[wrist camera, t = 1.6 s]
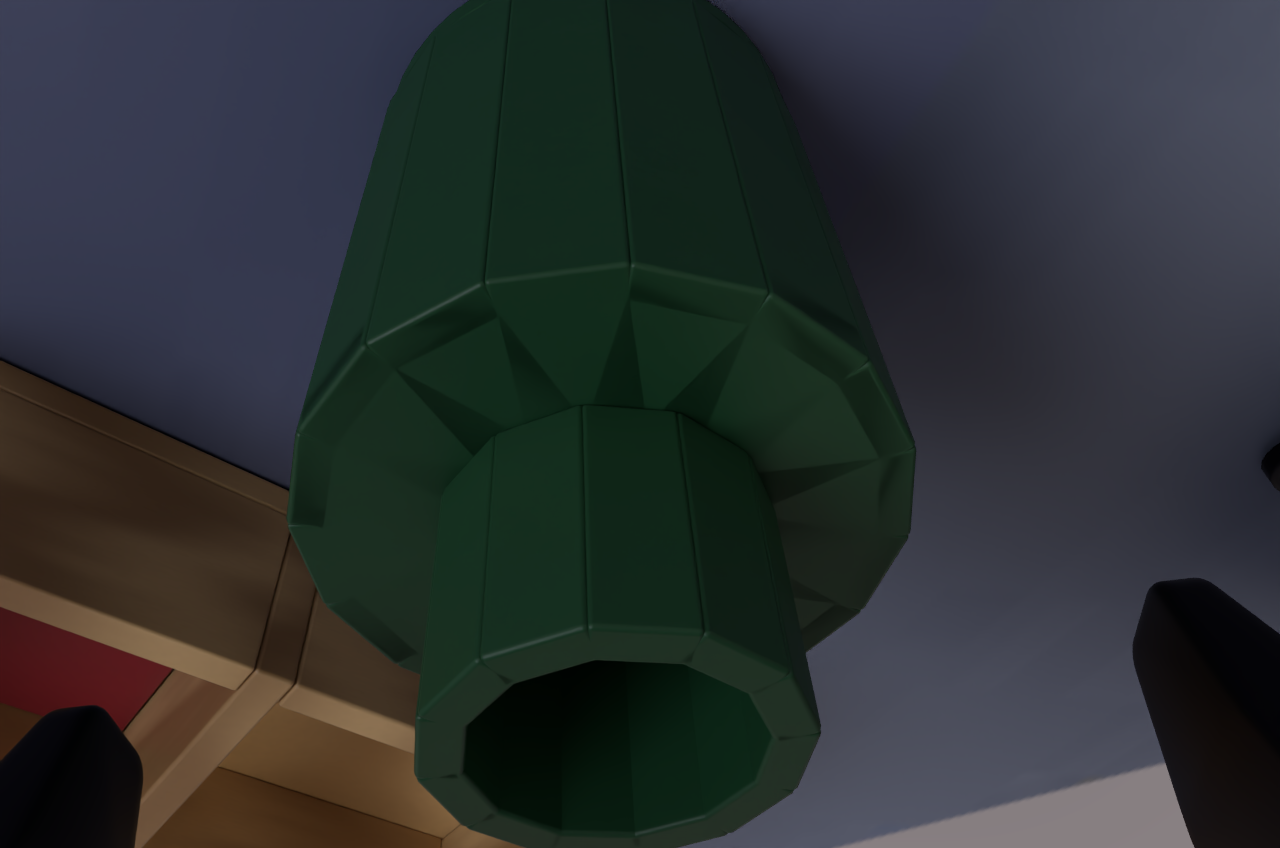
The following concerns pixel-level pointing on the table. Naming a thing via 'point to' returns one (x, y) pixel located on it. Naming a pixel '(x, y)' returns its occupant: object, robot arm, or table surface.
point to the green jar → (599, 425)
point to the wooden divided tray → (195, 640)
